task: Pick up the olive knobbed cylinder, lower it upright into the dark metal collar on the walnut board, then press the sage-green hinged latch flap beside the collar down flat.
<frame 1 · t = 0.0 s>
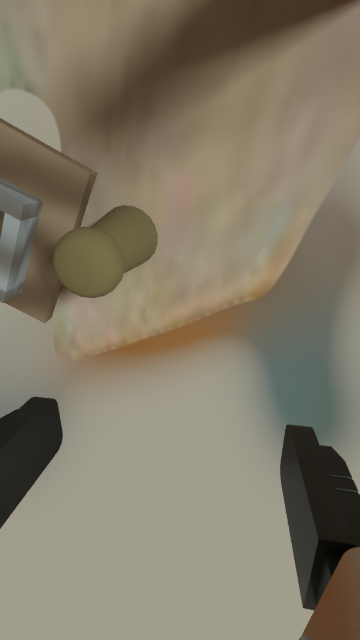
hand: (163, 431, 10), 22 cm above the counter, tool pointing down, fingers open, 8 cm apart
olive knobbed cylinder: (129, 236, 30), on the counter
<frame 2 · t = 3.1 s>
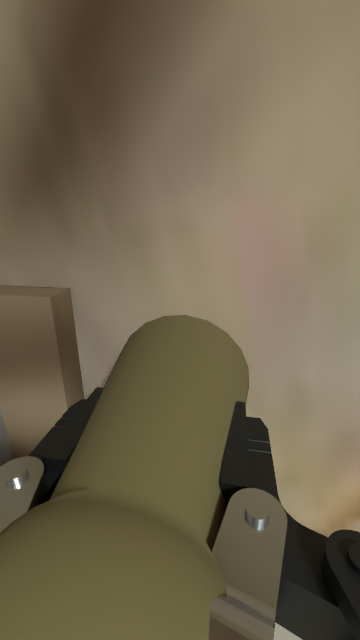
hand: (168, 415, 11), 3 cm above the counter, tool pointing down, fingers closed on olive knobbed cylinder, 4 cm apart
olive knobbed cylinder: (182, 375, 14), on the counter, touching gripper
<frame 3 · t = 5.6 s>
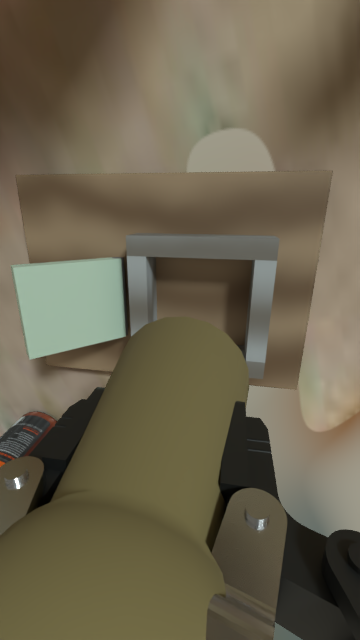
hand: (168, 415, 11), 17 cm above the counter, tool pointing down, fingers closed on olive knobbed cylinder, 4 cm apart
olive knobbed cylinder: (182, 376, 14), point 14 cm above the counter, touching gripper
supplement bottle: (44, 428, 36), on the counter
latch flap: (78, 304, 24), point 5 cm above the counter, hinge at 45.0°
holder board: (203, 295, 27), on the counter
when the fingers open (6 cm above the counter, at t = 8.2 s): olive knobbed cylinder drops 1 cm, resting on holder board.
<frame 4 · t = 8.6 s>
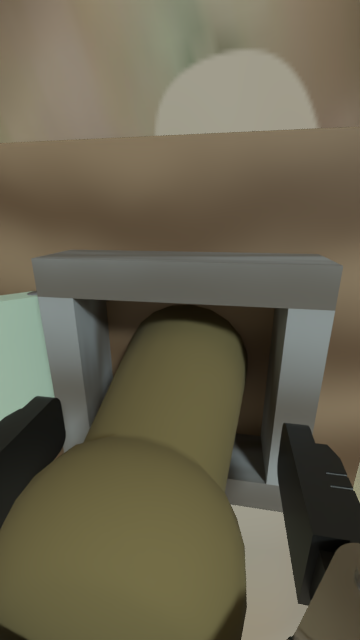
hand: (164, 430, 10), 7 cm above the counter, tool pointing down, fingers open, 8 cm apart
olive knobbed cylinder: (187, 360, 15), point 1 cm above the counter, touching holder board
holder board: (190, 350, 16), on the counter
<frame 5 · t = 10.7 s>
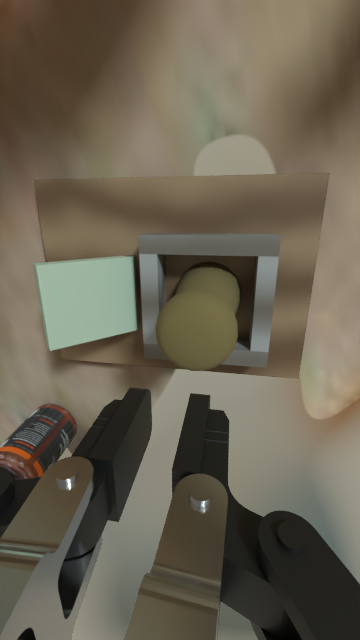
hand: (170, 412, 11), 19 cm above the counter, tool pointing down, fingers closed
olive knobbed cylinder: (208, 293, 28), point 1 cm above the counter, touching holder board
supplement bottle: (57, 420, 38), on the counter
latch flap: (93, 300, 26), point 5 cm above the counter, hinge at 45.0°
holder board: (209, 290, 29), on the counter
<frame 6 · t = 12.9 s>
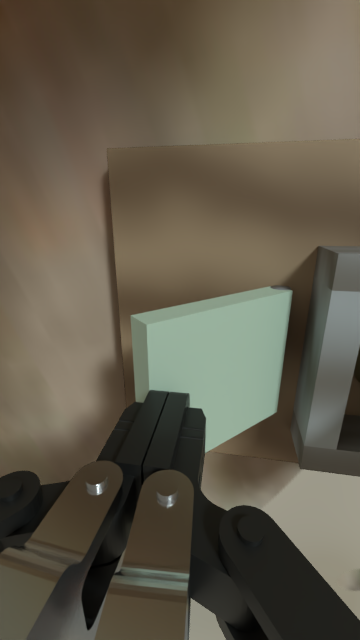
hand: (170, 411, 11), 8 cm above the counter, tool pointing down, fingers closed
latch flap: (223, 372, 14), point 5 cm above the counter, hinge at 45.0°, touching gripper
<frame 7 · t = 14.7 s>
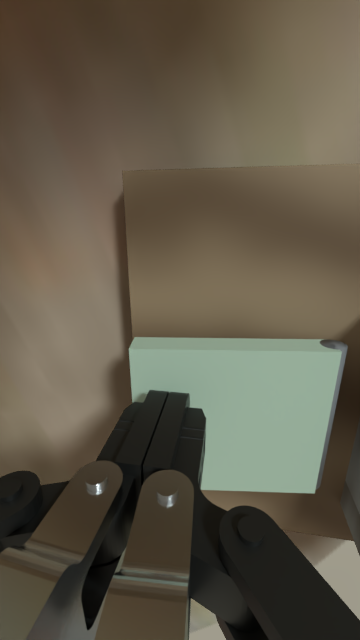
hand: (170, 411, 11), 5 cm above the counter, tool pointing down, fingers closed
latch flap: (233, 417, 13), point 3 cm above the counter, hinge at 7.3°
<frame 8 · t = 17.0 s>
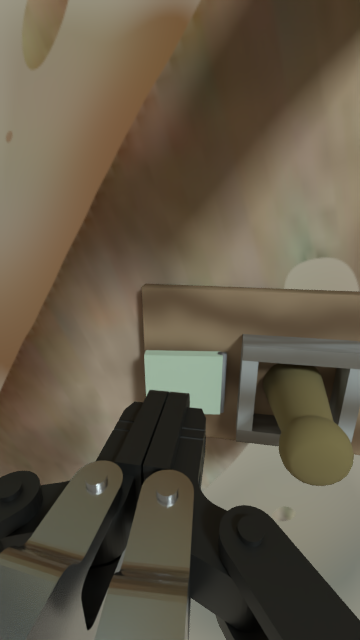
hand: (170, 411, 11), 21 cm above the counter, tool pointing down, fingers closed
olive knobbed cylinder: (292, 384, 31), point 1 cm above the counter, touching holder board
latch flap: (185, 382, 32), point 3 cm above the counter, hinge at 7.1°
holder board: (289, 378, 33), on the counter
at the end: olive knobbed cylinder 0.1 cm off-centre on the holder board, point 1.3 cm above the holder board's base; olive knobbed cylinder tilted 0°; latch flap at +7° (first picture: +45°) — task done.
